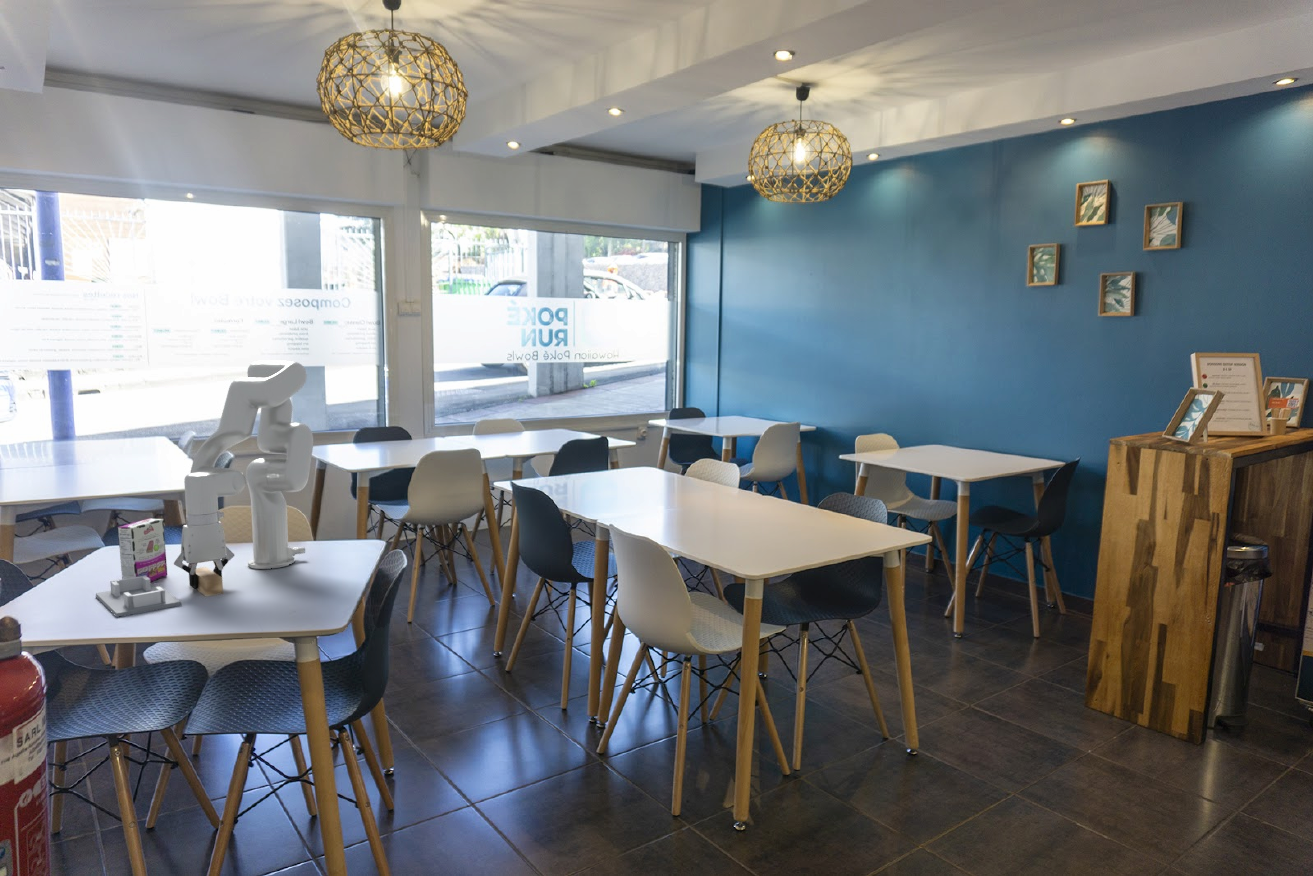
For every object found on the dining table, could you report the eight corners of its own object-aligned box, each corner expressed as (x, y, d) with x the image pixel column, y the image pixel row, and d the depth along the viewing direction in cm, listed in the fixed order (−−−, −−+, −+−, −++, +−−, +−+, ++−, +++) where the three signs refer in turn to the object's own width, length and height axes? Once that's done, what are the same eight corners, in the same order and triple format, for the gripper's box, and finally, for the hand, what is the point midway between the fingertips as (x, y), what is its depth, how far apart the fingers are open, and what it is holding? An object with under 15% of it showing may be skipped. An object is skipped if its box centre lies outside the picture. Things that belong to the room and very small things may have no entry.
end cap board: (157, 586, 230) (156, 571, 230) (181, 605, 214) (180, 589, 214) (96, 597, 220) (95, 581, 220) (116, 617, 205) (115, 601, 204)
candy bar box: (152, 575, 241) (149, 517, 239) (168, 576, 240) (164, 518, 238) (120, 586, 230) (116, 526, 228) (136, 587, 229) (132, 527, 227)
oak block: (206, 582, 235) (205, 566, 234) (223, 594, 225) (222, 577, 224) (190, 585, 232) (189, 569, 232) (206, 597, 222) (205, 580, 222)
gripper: (231, 512, 235) (235, 577, 237) (162, 521, 223) (166, 589, 225) (241, 517, 230) (244, 583, 232) (171, 526, 218) (175, 595, 220)
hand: (206, 585), depth 228 cm, fingers open, 4 cm apart
